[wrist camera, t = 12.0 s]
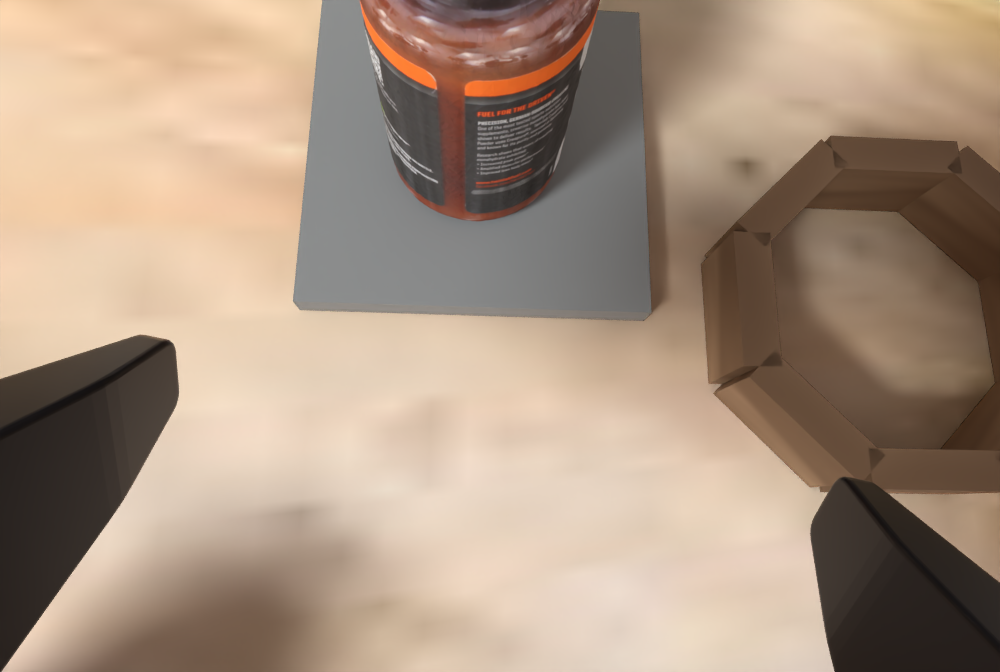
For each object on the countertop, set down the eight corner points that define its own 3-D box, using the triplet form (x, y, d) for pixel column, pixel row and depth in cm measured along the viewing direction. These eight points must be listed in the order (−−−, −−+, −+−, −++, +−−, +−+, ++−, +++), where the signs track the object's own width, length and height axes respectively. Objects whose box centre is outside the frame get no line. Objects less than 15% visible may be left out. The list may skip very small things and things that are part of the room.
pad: (643, 320, 24) (651, 312, 23) (299, 310, 23) (292, 301, 22) (632, 30, 27) (638, 12, 26) (327, 14, 26) (322, -5, 25)
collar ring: (1048, 496, 23) (1132, 494, 20) (715, 489, 23) (753, 486, 20) (992, 186, 26) (1058, 146, 23) (695, 174, 25) (725, 131, 23)
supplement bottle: (591, 142, 24) (697, -157, 13) (487, 261, 23) (511, 36, 12) (463, 48, 25) (465, -309, 14) (355, 158, 24) (265, -142, 13)
